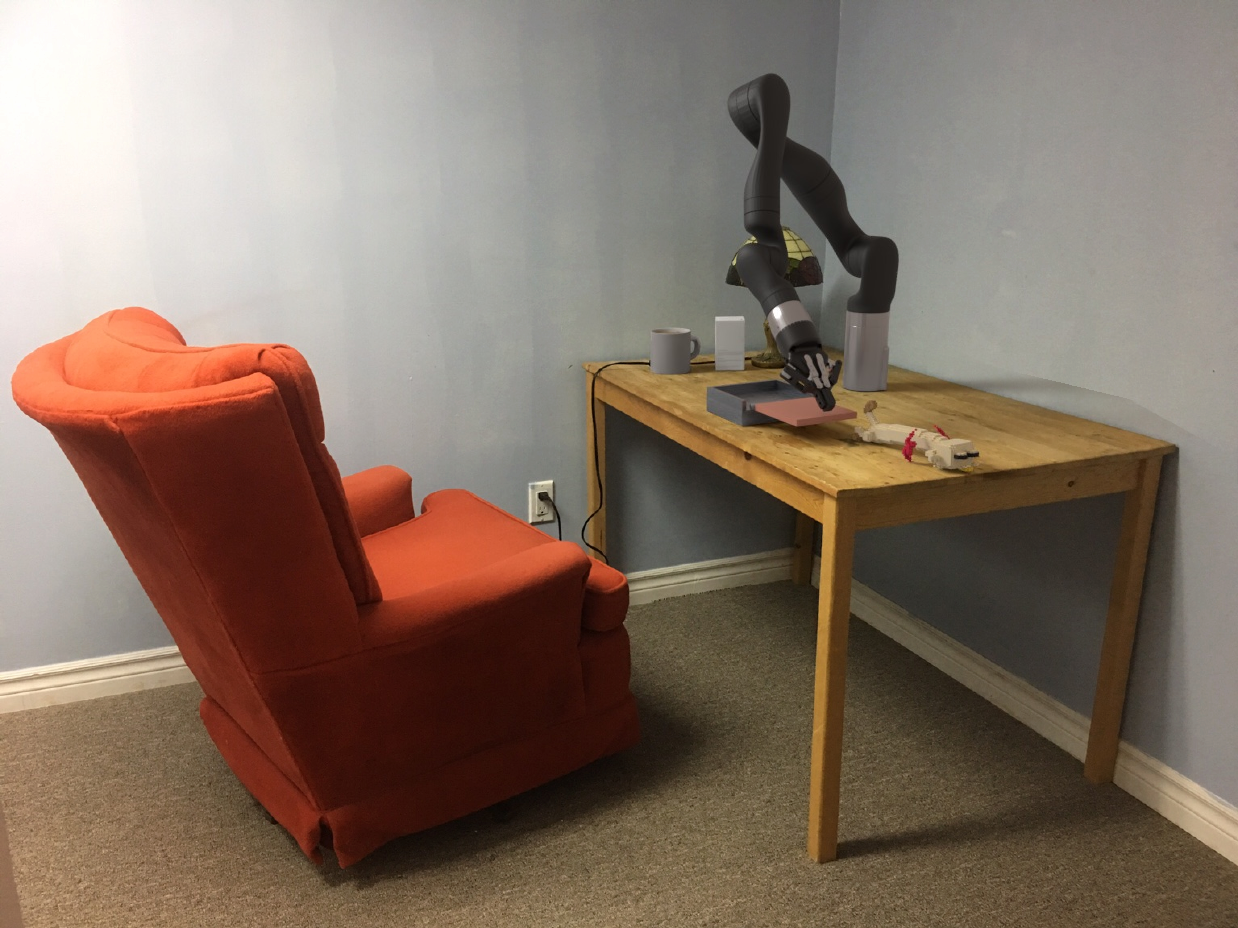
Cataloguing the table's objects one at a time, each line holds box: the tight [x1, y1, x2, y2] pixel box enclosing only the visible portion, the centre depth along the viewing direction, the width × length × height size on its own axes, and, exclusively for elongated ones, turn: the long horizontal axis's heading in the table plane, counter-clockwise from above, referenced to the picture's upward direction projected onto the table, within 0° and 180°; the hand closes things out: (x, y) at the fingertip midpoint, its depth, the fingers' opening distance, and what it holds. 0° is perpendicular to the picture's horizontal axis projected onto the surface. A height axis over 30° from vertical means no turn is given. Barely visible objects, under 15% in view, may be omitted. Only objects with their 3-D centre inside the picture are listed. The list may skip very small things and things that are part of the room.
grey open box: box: [706, 378, 815, 427], centre depth 185 cm, size 14×17×5 cm
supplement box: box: [714, 315, 746, 371], centre depth 229 cm, size 7×7×13 cm
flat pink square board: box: [750, 396, 858, 427], centre depth 172 cm, size 2×14×15 cm
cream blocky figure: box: [851, 399, 980, 472], centre depth 155 cm, size 10×9×25 cm
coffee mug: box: [649, 327, 701, 376], centre depth 228 cm, size 13×10×10 cm
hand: (829, 409), depth 164 cm, fingers closed
